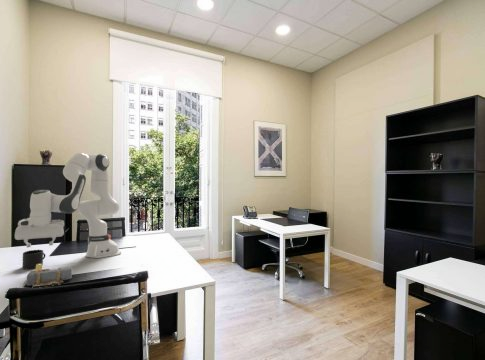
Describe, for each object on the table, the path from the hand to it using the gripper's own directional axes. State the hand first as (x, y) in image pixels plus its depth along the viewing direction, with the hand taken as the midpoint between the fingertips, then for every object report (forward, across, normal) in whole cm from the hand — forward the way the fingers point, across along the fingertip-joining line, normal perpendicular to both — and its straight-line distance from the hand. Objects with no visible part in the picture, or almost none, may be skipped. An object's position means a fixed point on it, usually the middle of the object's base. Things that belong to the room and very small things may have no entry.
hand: (40, 246), depth 133 cm
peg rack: (+17, -5, +10) cm, 20 cm away
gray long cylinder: (+16, -6, +10) cm, 20 cm away
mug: (+19, +6, -24) cm, 31 cm away
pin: (+18, 0, +1) cm, 18 cm away
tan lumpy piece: (+18, 0, +1) cm, 18 cm away
